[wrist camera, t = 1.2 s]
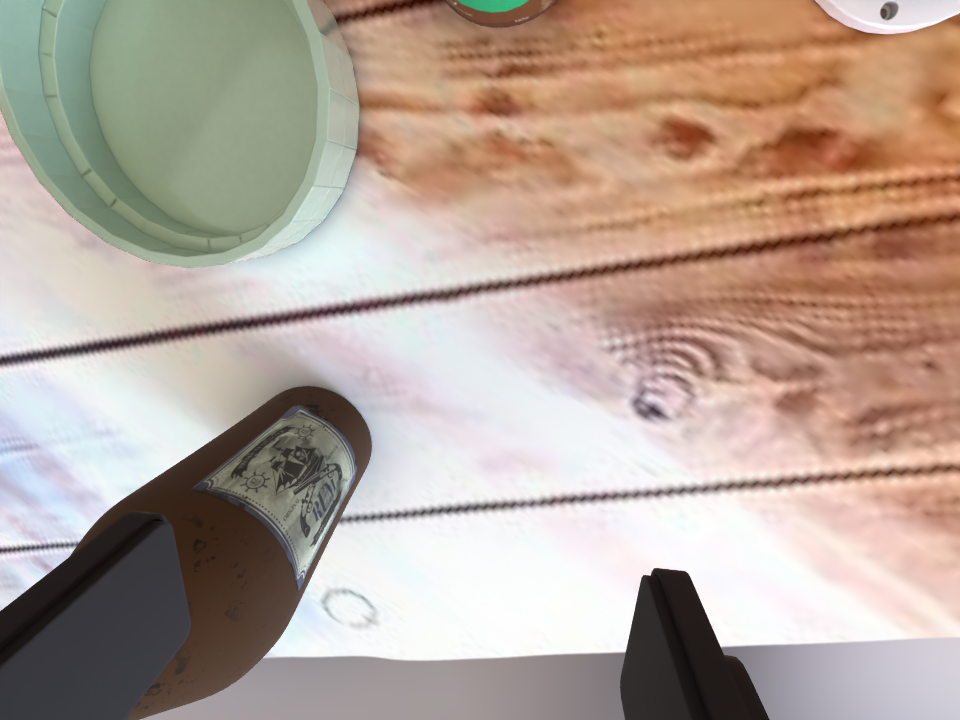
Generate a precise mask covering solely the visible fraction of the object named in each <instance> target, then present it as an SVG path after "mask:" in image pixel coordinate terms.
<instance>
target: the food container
mask: <svg viewBox="0 0 960 720" xmlns="http://www.w3.org/2000/svg"><path fill="white" fill-rule="evenodd" d="M445 1H446V2H447V4H448V5H449V6H450V7H451V8H452V9H453V10H455V11H456V12H457V13H458V14H459V15H461V16H462V17H464V18H466V19H467V20H469V21H471V22H474V23H476V24H479V25H482V26H487V27H493V28H500V27H511V26H515V25H520V24H522V23H525V22H527V21H530V20H532V19H534V18H535V17H537V16H539V15H540V14H542V13H544V12H545V11H546V10H547V9H549V8H550V7H551V6H552V5H553V4H555V2H556V1H557V0H445Z"/></svg>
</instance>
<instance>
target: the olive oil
mask: <svg viewBox="0 0 960 720" xmlns="http://www.w3.org/2000/svg"><path fill="white" fill-rule="evenodd" d="M371 448H372V445H371V437H370V433H369V429H368V427H367V425H366V423H365V421H364V419H363V417H362V416H361V414H360V413H359V412H358V411H357V409H356V408H355V407H354V406H353V405H352V404H350V403H349V402H348V401H347V400H345V399H344V398H342V397H341V396H339V395H337V394H335V393H333V392H331V391H328V390H325V389H322V388H317V387H297V388H292V389H289V390H286V391H284V392H282V393H280V394H278V395H277V396H275V397H274V398H272V399H271V400H269V401H268V402H266V403H265V404H264V405H262V406H261V407H259V408H258V409H257V410H255V411H254V412H252V413H251V414H250V415H248V416H247V417H245V418H244V419H243V420H241V421H240V422H238V423H237V424H235V425H234V426H232V427H231V428H230V429H228V430H227V431H225V432H224V433H222V434H221V435H219V436H218V437H216V438H215V439H213V440H212V441H210V442H209V443H207V444H206V445H204V446H203V447H201V448H200V449H198V450H197V451H195V452H194V453H192V454H191V455H189V456H188V457H186V458H185V459H183V460H182V461H180V462H179V463H177V464H176V465H174V466H173V467H171V468H170V469H168V470H167V471H165V472H164V473H162V474H161V475H159V476H158V477H156V478H154V479H153V480H151V481H150V482H148V483H147V484H145V485H144V486H142V487H141V488H139V489H138V490H136V491H135V492H133V493H132V494H130V495H129V496H127V497H126V498H124V499H123V500H121V501H120V502H118V503H117V504H116V505H114V506H113V507H112V508H111V509H109V510H108V511H107V512H106V513H105V514H104V515H103V516H102V517H101V518H100V519H99V520H98V521H97V522H96V523H95V524H94V525H93V526H92V527H91V529H90V530H89V531H88V532H87V533H86V535H85V536H84V537H83V539H82V540H81V541H80V543H79V544H78V545H77V547H76V548H75V550H74V551H73V553H72V554H71V556H72V555H73V554H74V553H75V552H77V551H78V550H79V549H81V548H82V547H83V546H84V545H86V544H87V543H88V542H89V541H91V540H92V539H93V538H95V537H96V536H97V535H98V534H100V533H101V532H102V531H104V530H105V529H106V528H107V527H109V526H110V525H111V524H112V523H114V522H115V521H116V520H118V519H119V518H120V517H121V516H123V515H124V514H126V513H128V512H130V511H142V512H151V513H160V514H163V515H164V516H165V517H166V519H167V521H168V522H169V523H171V524H172V527H173V530H174V536H175V541H176V546H177V551H178V556H179V562H180V567H181V572H182V577H183V582H184V587H185V593H186V598H187V603H188V608H189V613H190V618H191V628H190V632H189V635H188V637H187V639H186V641H185V642H184V644H183V645H182V646H181V648H180V649H179V650H178V652H177V653H176V654H175V655H174V657H173V658H172V659H171V661H170V662H169V663H168V665H167V666H166V667H165V668H164V670H163V671H162V672H161V674H160V675H159V676H158V678H157V679H156V680H155V681H154V683H153V684H152V685H151V687H150V688H149V689H148V690H147V692H146V693H145V694H144V696H143V697H142V698H141V700H140V701H139V702H138V703H137V705H136V706H135V707H134V709H133V710H132V711H131V713H130V714H129V715H128V716H127V718H126V719H125V720H139V719H142V718H145V717H148V716H151V715H155V714H158V713H161V712H164V711H167V710H170V709H173V708H176V707H180V706H183V705H186V704H189V703H192V702H195V701H198V700H201V699H204V698H206V697H208V696H211V695H213V694H215V693H217V692H219V691H221V690H223V689H225V688H227V687H228V686H230V685H231V684H233V683H234V682H236V681H237V680H239V679H240V678H241V677H242V676H244V675H245V674H246V673H247V672H248V671H249V670H250V669H252V668H253V667H254V665H256V664H257V663H258V662H259V661H260V660H261V659H262V658H263V657H264V656H265V655H266V654H267V653H268V652H269V650H270V649H271V648H272V647H273V646H274V645H275V643H276V642H277V641H278V639H279V638H280V637H281V635H282V634H283V632H284V631H285V629H286V627H287V626H288V624H289V622H290V620H291V618H292V616H293V614H294V612H295V610H296V608H297V606H298V604H299V602H300V600H301V598H302V595H303V593H304V591H305V589H306V587H307V585H308V583H309V581H310V579H311V577H312V575H313V573H314V570H315V568H316V566H317V564H318V562H319V560H320V558H321V556H322V554H323V552H324V550H325V548H326V546H327V544H328V542H329V540H330V538H331V536H332V534H333V532H334V530H335V528H336V526H337V524H338V522H339V520H340V518H341V516H342V514H343V512H344V510H345V508H346V506H347V504H348V502H349V500H350V498H351V496H352V494H353V492H354V490H355V489H356V487H357V485H358V483H359V481H360V479H361V477H362V475H363V473H364V472H365V470H366V468H367V465H368V463H369V460H370V456H371Z"/></svg>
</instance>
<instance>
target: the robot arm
mask: <svg viewBox="0 0 960 720" xmlns="http://www.w3.org/2000/svg"><path fill="white" fill-rule="evenodd" d="M815 1H816V2H817V3H818V4H819V5H820V6H821V7H822V9H823V10H824V11H825V12H826V13H827V14H828V15H830V16H831V17H833V18H834V19H836V20H838V21H839V22H841V23H842V24H844V25H845V26H848V27H851V28H854V29H857V30H860V31H863V32H867V33H878V34H895V33H904V32H912V31H915V30H918V29H921V28H924V27H928V26H931V25H934V24H937V23H939V22H941V21H943V20H945V19H947V18H950V17H952V16H954V15H957V14H959V13H960V0H815ZM880 13H881V15H880ZM190 628H191V618H190V613H189V608H188V603H187V598H186V593H185V587H184V582H183V577H182V572H181V567H180V562H179V556H178V551H177V546H176V541H175V536H174V530H173V527H172V524H171V523H169V522H168V521H167V519H166V517H165V516H164V515H163V514H160V513H151V512H142V511H130V512H128V513H126V514H124V515H123V516H121V517H120V518H119V519H118V520H116V521H115V522H114V523H112V524H111V525H110V526H109V527H107V528H106V529H105V530H104V531H102V532H101V533H100V534H98V535H97V536H96V537H95V538H93V539H92V540H91V541H89V542H88V543H87V544H86V545H84V546H83V547H82V548H81V549H79V550H78V551H77V552H75V553H74V554H73V555H72V556H70V557H69V558H68V559H66V560H65V561H64V562H63V563H61V564H60V565H59V566H58V567H56V568H55V569H54V570H52V571H51V572H50V573H49V574H47V575H46V576H45V577H44V578H42V579H41V580H40V581H38V582H37V583H36V584H35V585H33V586H32V587H31V588H29V589H28V590H27V591H26V592H24V593H23V594H22V595H21V596H19V597H18V598H17V599H15V600H14V601H13V602H12V603H10V604H9V605H8V606H6V607H5V608H4V609H3V610H1V611H0V720H125V719H126V718H127V716H128V715H129V714H130V713H131V711H132V710H133V709H134V707H135V706H136V705H137V703H138V702H139V701H140V700H141V698H142V697H143V696H144V694H145V693H146V692H147V690H148V689H149V688H150V687H151V685H152V684H153V683H154V681H155V680H156V679H157V678H158V676H159V675H160V674H161V672H162V671H163V670H164V668H165V667H166V666H167V665H168V663H169V662H170V661H171V659H172V658H173V657H174V655H175V654H176V653H177V652H178V650H179V649H180V648H181V646H182V645H183V644H184V642H185V641H186V639H187V637H188V635H189V632H190ZM620 689H621V700H622V705H623V710H624V715H625V720H769V718H768V715H767V713H766V711H765V709H764V707H763V705H762V703H761V701H760V698H759V696H758V694H757V692H756V690H755V687H754V685H753V683H752V681H751V679H750V677H749V675H748V673H747V671H746V669H745V667H744V666H743V664H742V663H741V662H740V661H739V660H738V659H737V658H736V657H733V656H727V655H724V654H723V652H722V650H721V647H720V645H719V643H718V640H717V638H716V636H715V633H714V631H713V629H712V626H711V624H710V622H709V619H708V617H707V615H706V613H705V610H704V608H703V606H702V603H701V601H700V599H699V596H698V594H697V592H696V589H695V587H694V585H693V582H692V580H691V578H690V576H689V574H688V573H687V572H686V571H678V570H669V569H660V568H654V569H653V571H652V573H651V576H648V575H643V577H642V579H641V583H640V588H639V592H638V597H637V602H636V607H635V612H634V616H633V621H632V626H631V631H630V635H629V640H628V645H627V650H626V655H625V659H624V664H623V669H622V674H621V681H620Z"/></svg>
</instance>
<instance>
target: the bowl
mask: <svg viewBox="0 0 960 720" xmlns="http://www.w3.org/2000/svg"><path fill="white" fill-rule="evenodd" d="M0 109H1V112H2V114H3V117H4V120H5V122H6V125H7V128H8V130H9V133H10V135H11V136H12V139H13V141H14V142H15V144H16V145H17V147H18V149H19V150H20V152H21V154H22V155H23V157H24V158H25V160H26V162H27V163H28V165H29V167H30V168H31V170H32V171H33V173H34V175H35V176H36V178H37V179H38V181H39V182H40V183H41V184H42V186H43V187H44V188H45V189H46V190H47V191H48V192H49V193H50V194H51V195H52V196H53V198H54V199H55V200H56V201H57V202H58V203H59V204H60V205H61V206H62V207H63V209H64V210H65V211H66V212H67V213H68V214H69V215H70V216H72V218H74V219H75V220H76V221H78V222H79V223H80V224H82V225H83V226H85V227H86V228H87V229H89V230H90V231H91V232H93V233H94V234H95V235H97V236H98V237H100V238H101V239H102V240H104V241H105V242H106V243H109V244H110V245H112V246H114V247H117V248H119V249H121V250H123V251H126V252H128V253H130V254H133V255H135V256H137V257H139V258H142V259H144V260H146V261H149V262H155V263H161V264H167V265H172V266H178V267H184V268H195V267H204V266H213V265H222V264H229V263H234V262H238V261H243V260H248V259H253V258H258V257H263V256H267V255H270V254H272V253H274V252H277V251H279V250H281V249H284V248H286V247H288V246H291V245H293V244H295V243H297V242H299V241H300V240H302V239H303V238H304V237H305V236H306V235H307V234H309V233H310V232H311V231H312V230H313V229H314V228H316V227H317V226H318V225H319V224H320V223H321V222H323V221H324V219H325V218H326V217H327V215H328V214H329V212H330V210H331V209H332V207H333V206H334V204H335V203H336V201H337V200H338V198H339V197H340V195H341V193H342V192H343V190H344V188H345V186H346V182H347V179H348V176H349V173H350V170H351V167H352V163H353V160H354V157H355V154H356V149H357V140H358V123H359V100H358V94H357V88H356V82H355V76H354V70H353V64H352V60H351V57H350V54H349V52H348V49H347V47H346V44H345V42H344V39H343V37H342V35H341V32H340V30H339V27H338V25H337V22H336V20H335V17H334V15H333V13H332V12H331V10H330V9H329V7H328V6H327V5H326V3H325V2H324V0H0Z"/></svg>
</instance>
